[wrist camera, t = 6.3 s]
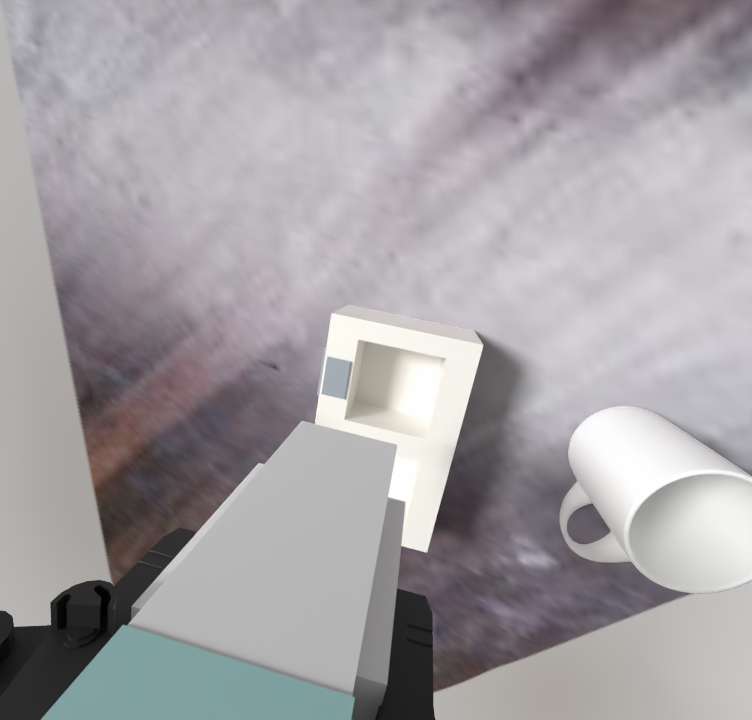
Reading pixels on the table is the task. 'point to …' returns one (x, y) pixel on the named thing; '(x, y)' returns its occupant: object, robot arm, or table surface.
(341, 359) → the socket box
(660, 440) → the mug
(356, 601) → the plug
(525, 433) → the table surface
